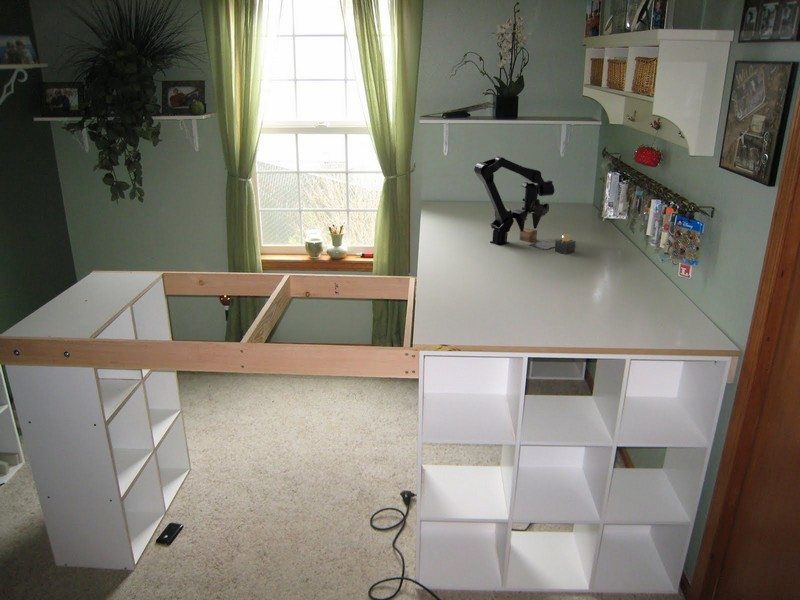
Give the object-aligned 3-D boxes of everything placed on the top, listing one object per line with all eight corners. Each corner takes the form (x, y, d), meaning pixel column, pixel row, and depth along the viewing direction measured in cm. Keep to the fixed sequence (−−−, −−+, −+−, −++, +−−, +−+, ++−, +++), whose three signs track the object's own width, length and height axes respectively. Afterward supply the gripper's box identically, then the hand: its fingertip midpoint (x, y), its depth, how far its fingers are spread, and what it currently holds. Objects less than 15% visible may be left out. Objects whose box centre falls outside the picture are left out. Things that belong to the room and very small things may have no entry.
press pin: (565, 247, 281) (567, 236, 279) (559, 245, 284) (560, 234, 282) (571, 246, 283) (572, 235, 281) (564, 244, 286) (565, 233, 284)
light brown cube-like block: (528, 242, 298) (529, 232, 296) (519, 239, 302) (520, 229, 300) (536, 240, 301) (537, 230, 300) (527, 237, 305) (528, 227, 304)
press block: (565, 254, 280) (567, 243, 279) (554, 251, 285) (555, 240, 283) (574, 251, 284) (575, 240, 282) (563, 248, 288) (564, 238, 286)
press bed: (545, 249, 287) (545, 249, 287) (529, 245, 293) (529, 244, 293) (558, 246, 292) (558, 245, 292) (542, 242, 299) (542, 241, 298)
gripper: (531, 202, 283) (528, 237, 289) (558, 197, 294) (555, 230, 300) (512, 198, 291) (509, 232, 297) (539, 193, 302) (536, 225, 308)
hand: (528, 230), depth 300 cm, fingers open, 9 cm apart
